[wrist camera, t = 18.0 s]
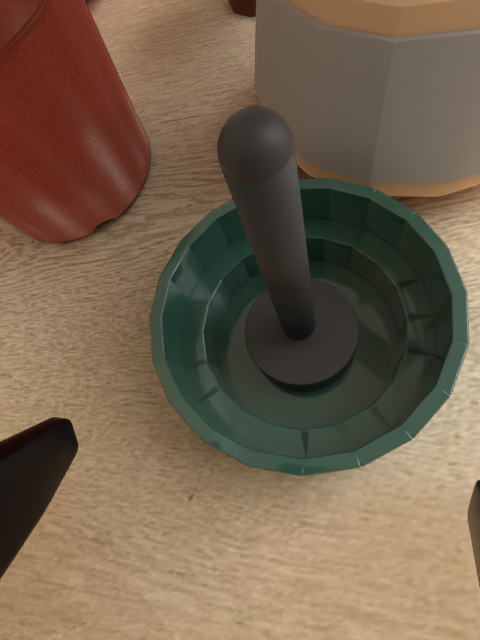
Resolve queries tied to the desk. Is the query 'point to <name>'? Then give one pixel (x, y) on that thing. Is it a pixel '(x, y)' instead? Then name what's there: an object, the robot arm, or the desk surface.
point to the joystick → (283, 259)
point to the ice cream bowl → (244, 7)
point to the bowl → (372, 348)
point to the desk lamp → (376, 89)
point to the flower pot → (63, 123)
